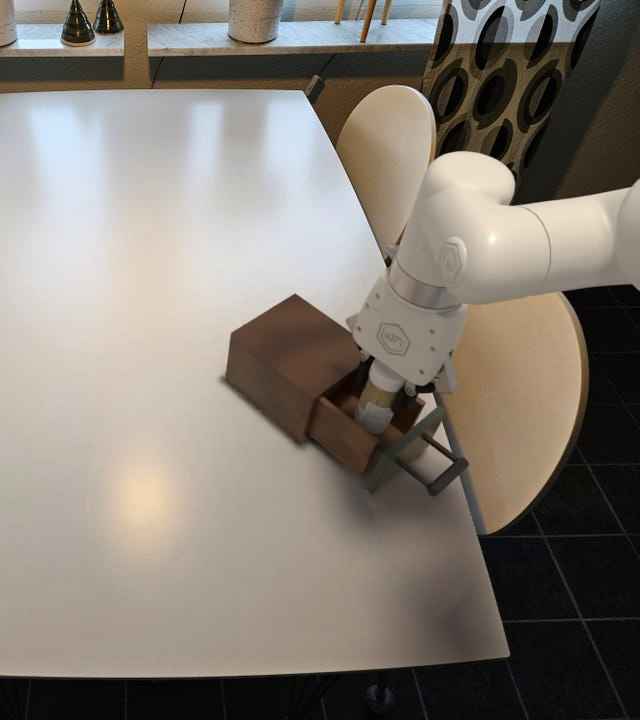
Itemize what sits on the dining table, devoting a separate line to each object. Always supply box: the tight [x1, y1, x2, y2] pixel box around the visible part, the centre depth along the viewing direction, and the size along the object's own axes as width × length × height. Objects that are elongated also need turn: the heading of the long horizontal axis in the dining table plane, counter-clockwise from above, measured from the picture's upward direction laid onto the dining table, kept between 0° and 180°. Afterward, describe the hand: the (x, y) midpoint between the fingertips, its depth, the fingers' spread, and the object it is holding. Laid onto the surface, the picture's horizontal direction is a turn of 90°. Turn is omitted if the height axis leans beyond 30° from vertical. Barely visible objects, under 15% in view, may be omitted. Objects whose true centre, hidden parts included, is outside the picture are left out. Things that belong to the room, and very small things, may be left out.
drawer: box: [307, 371, 470, 498], centre depth 81 cm, size 19×11×8 cm, turn 40°
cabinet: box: [224, 293, 360, 445], centre depth 88 cm, size 15×13×10 cm
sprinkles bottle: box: [353, 358, 406, 446], centre depth 79 cm, size 5×5×13 cm
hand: (382, 392), depth 78 cm, fingers closed on sprinkles bottle, 4 cm apart
